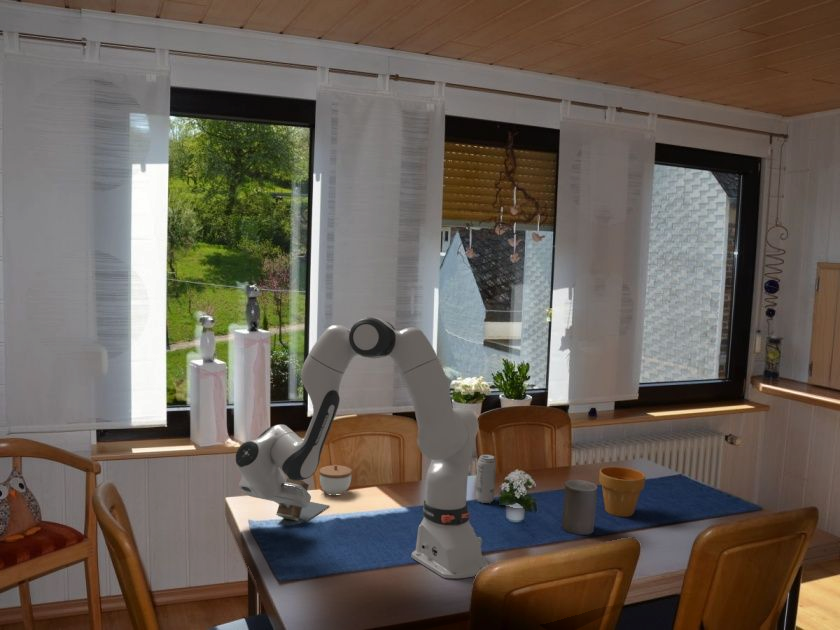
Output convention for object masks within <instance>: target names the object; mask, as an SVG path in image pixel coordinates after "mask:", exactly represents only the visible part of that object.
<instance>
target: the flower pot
mask: <svg viewBox="0 0 840 630" xmlns="http://www.w3.org/2000/svg"><path fill="white" fill-rule="evenodd" d="M598 478H599V484H600V485H601V487H602V488H601V489H602V496H603V501H604V502H603V503H604V508H605V509H604V510H605V512H607V513H608V514H610V515H613V516H616V517H619V518H620V517H621V518H623V517H624V518H628V517H631V516H633V515H634V513H635V510H636V508H637V504H638V501H639V498H640V494H641V491H642V490H643V489H644V488H645V483H646V475H645V473H643V472H641V471H639V470H637V469H634V468H630V467H625V466H624V467H623V466H605V467H603V468H600V470H599V477H598Z"/></svg>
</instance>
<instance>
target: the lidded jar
mask: <svg viewBox="0 0 840 630" xmlns="http://www.w3.org/2000/svg"><path fill="white" fill-rule="evenodd" d="M318 471H319V484H320V487H321V489H322V490H323V492H324V493H325V494H326V493H327V494H331V495H336V494H342V493H344V494H345V493H346V492H347V490H348V489H349V488H350V486H351V481H352V474H353V473H352V472H353V470H352V469H351V468H350V467H348V466H345V465H338V464H334V465H326V466H323V467H321V468H319V470H318ZM327 494H326V495H327ZM331 495H330V496H331Z"/></svg>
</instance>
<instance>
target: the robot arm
mask: <svg viewBox="0 0 840 630" xmlns="http://www.w3.org/2000/svg"><path fill="white" fill-rule="evenodd" d="M356 356H361V357H364V358H369V359H380V358H384V357H385V358H386V357H387V356H388V357H390V358H391V359H392V360H393V362H395V365H396V366H397V368H398V371H399V373H400V375H401V378H402V381H403V382H404V385H405V388H406V389H407V392H408V394H409V397H410V399H411V402H412V406H413V409H414V414H415V418H416V425H417V430H418V431H417V441H416V443H417V447H418V449H419V451H420V452H421V454H422V455H424V456H425V458H427V459H430V460H431V461H430V464H429V466H428V469H427V471H426V477H425V478H426V480H425V483H426V484H425V499H424V501H423V505H422V506H423V507H422V515H423V519H422V520H421V522H420V524H419V525H418V529H417V536H416V537H417V538H416V542H415V550H413V551H412V552H411V556H410V557H411V558H412V559H413V560H415V561H416V562H418V563H419V564H421V565H422V566H424V567H426V568H428V569H429V570H430V571H432V572H434V573H435V574H437V575H439V577H442V578H444V579H465V578H466V579H467V578H471V577H476V576H475V575H476V574H477V573H478V572H479V571H480V570H481V569H482V568H483V567H485V566H487V565H488V564H489V563H488V562H487V561H486V559H485V558H484V556H482V545H483V539H482V537H481V536H477V534H476V532H475V528H474V527H473V526H472V524H471V523H470V517H471V516H470V515H471V513H470V512H469V511H470V510H469V507H468V503H467V496H468V495H467V493H468V492H467V491H468V478H469V472H470V466H471V462H472V458H473V452H474V447H475V441H476V437H477V434H478V431H479V425H480V424H479V421H478V418H477V416H476V414H475V413H474V412H472V411H471V410H470V409H467V408H463V407H455V408H454V407H453V403H452V400H451V399H452V398H451V386H450V382H449V379H448V377H447V375H446V373H445V370H444V368H443V366H442V364H441V362H440V361H441V360H440V359H439V357H438V355H437V353H436V351H435V349H434V347H433V346H432V344H431V342H430V341H429V339H428V338H427V336H426V334H425V333H424V332H423V331H422V329H420V328H418V327H413V326H412V327H406V328H403V329H400V330H399V329H398V330H396V328H395V327H394V326H393V325H392V324H391V323H390V322H388V321H387V320H384V319H382V318H380V317H371V316H370V317H369V316H367V317H362V318H360V319H359V320H357V321H356V322H354V323H353V325H352V326H351V328H348V327H346V326H344V325H340V324H332V325H329V326H328V327H327V328H326V329H325V330H324V331H323V332H322V334H320V336H319V337H318V339H317V340H316V342H315V343H314V345H313V346H312V348H311V350H310V351H309V352H308V355H307V357H306V358H305V360H304V362H303V364H302V368H301V371H300V377H301V382H302V384H303V386H304V389H305V391H306V392H307V394H308V396H309V399H310V401H311V404H312V411H313V412H312V418H311V420H310V422H309V425H308V428H307V430H306V433H305V435H304V437H303V439H302V438H301V437H300V436H299V435H298V434H297V433H296V432H294V430H292V429H291V428H290V427H289V426H288V425H286V424H282V423H279V424H274V425H272V426H270V427H268V428H267V429H265V430H264V431H263V432H262V433H261V434H260V435H259V436H258V437H257V439H251V440H247V441H245V442H243V443H242V444H241V445H240V446H239V447H238V449H237V450H236V454H235V459H234V460H235V464H236V467H237V469H238V471H239V473H240V474H241V478H240V481H239V484H238V488H239V489H240V490H242V492H244V494H245V495H246V496H249V497H250V498H251V497H252V498H257V499H261V500H265V501H270V502H275V503H276V504H278V506H279V505H280V506H283V507H288V508H289V507H290V505H294V506H299V507H303V508H306V507H307V506H308V504H309V502H311V500H312V495H311V494H310V493H309V491H308V490H307V491H306V490H305V489H304V488H303V487H302V486H300V485H297V484H292V483H287V482H286V478H285V477H287V478H289V479H291V480H294V481H299V480H301V481H303V480H306V479H310V477H313V475H314V474H315V473H316V471H317V469H318V467H319V465H320V461H321V456H322V455H321V454H322V451H323V448H324V445H325V443H326V441H327V439H328V435H329V432H330V430H331V427H332V425H333V422H334V420H335V417H336V414H337V412H338V408H339V406H340V402H341V401H340V399H341V398H340V394H339V393H340V385H341V381H342V378H343V376H344V374H345V372H346V370H347V368H349V367H348V366H349V365H350V363H351V362H352V360H353V359H354V358H355V357H356ZM281 470H282V471H281ZM285 475H286V476H285Z"/></svg>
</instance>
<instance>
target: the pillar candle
mask: <svg viewBox="0 0 840 630" xmlns="http://www.w3.org/2000/svg"><path fill="white" fill-rule="evenodd" d="M563 490H564V493H563V507H562V518H561V528H562V530H564V531H566V532H567V533H570V534H574V535H581V536H583V535H590V534H592V533H594V530H595V519H596V505H597V497H598V495H597V494H598V485H596V484H595V483H594V482H590V481H588V480H582V479H570V480H567V481H565V483H564V489H563Z"/></svg>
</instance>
